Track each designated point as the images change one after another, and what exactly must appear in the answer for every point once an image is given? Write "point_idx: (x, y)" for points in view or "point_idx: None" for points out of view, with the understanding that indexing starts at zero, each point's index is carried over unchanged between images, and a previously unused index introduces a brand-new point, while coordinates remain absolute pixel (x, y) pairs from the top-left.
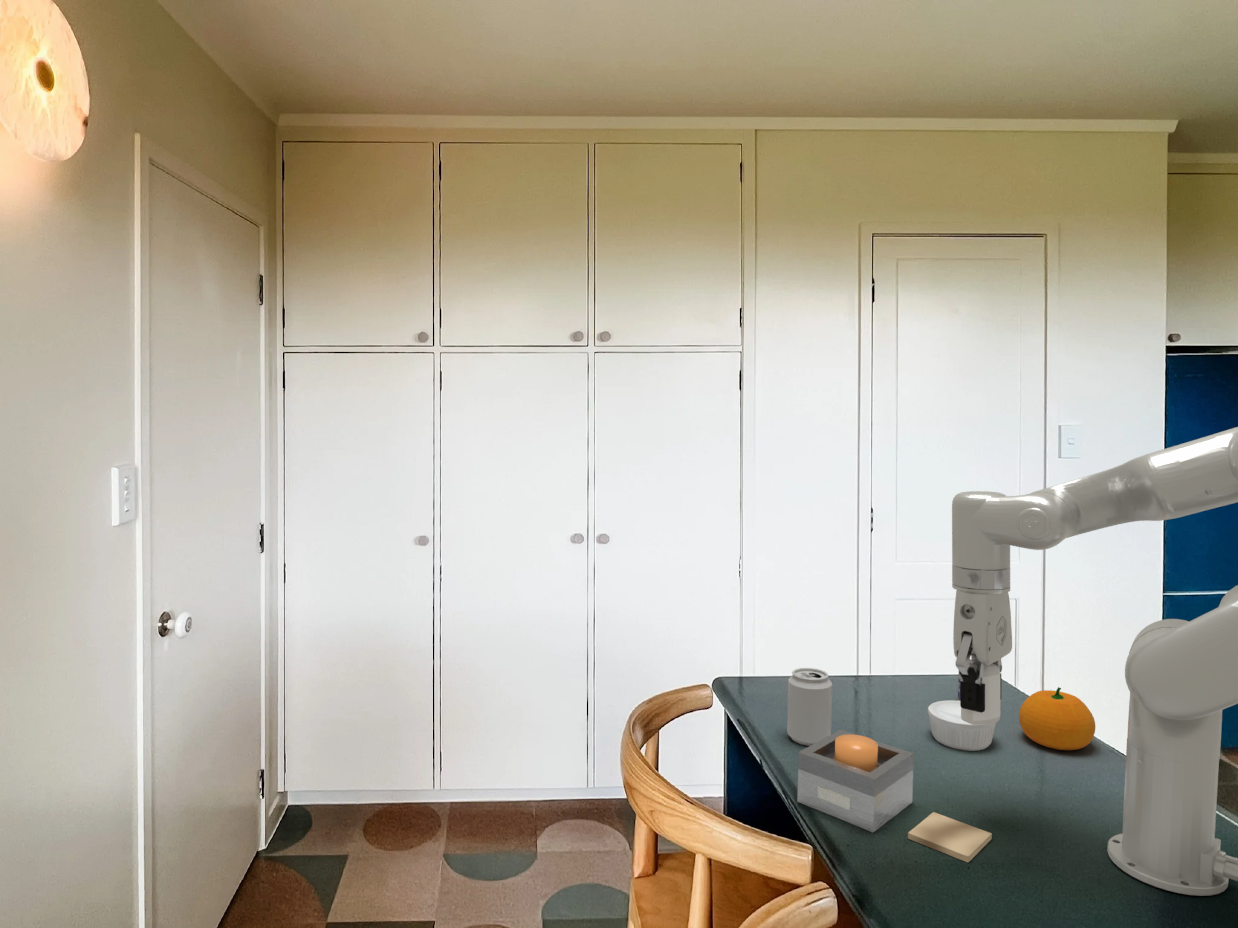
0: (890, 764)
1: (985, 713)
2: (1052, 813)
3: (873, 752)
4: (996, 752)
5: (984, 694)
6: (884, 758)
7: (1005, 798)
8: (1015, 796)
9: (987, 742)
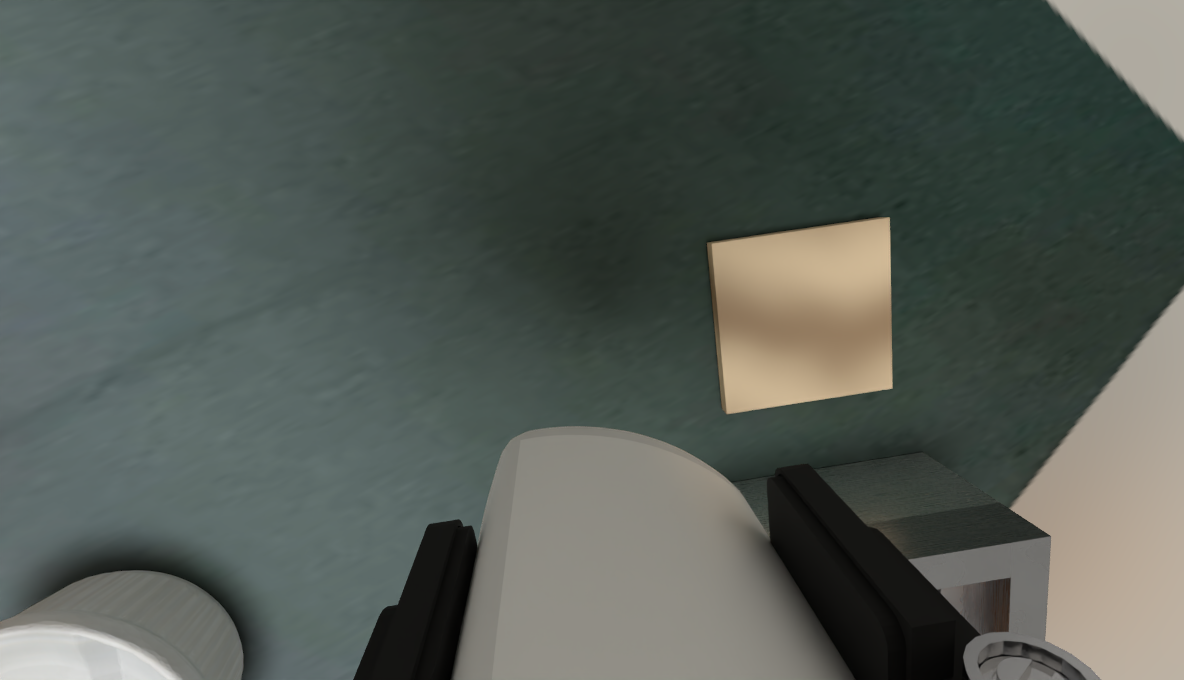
0: None
1: (691, 476)
2: (389, 205)
3: None
4: (125, 534)
5: (861, 544)
6: None
7: (425, 346)
8: (383, 334)
9: (119, 577)
